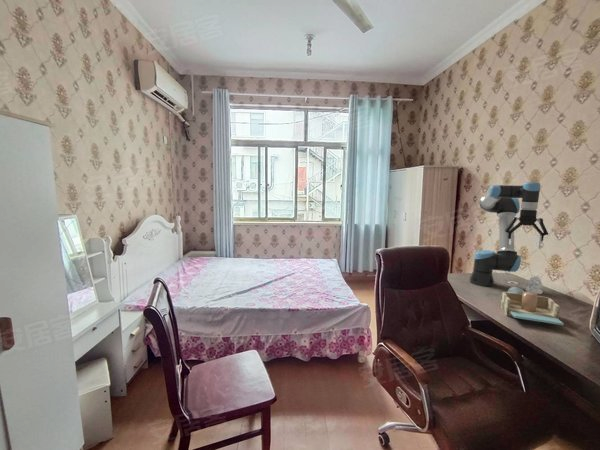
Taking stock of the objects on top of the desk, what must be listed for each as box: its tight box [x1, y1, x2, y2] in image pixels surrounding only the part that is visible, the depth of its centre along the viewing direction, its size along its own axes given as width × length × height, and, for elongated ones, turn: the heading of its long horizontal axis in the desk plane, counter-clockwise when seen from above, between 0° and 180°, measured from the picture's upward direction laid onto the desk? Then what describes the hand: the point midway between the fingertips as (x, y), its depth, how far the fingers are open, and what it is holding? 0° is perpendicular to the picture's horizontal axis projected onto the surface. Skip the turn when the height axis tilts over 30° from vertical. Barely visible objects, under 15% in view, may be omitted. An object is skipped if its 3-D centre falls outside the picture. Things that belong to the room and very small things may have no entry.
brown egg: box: [521, 291, 539, 312], centre depth 159 cm, size 6×6×9 cm
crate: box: [499, 291, 561, 320], centre depth 160 cm, size 14×22×9 cm, turn 67°
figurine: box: [525, 275, 544, 295], centre depth 195 cm, size 12×9×10 cm
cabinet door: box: [510, 311, 565, 326], centre depth 149 cm, size 1×20×9 cm
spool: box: [507, 286, 525, 294], centre depth 178 cm, size 14×10×10 cm
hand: (524, 245), depth 173 cm, fingers open, 13 cm apart
